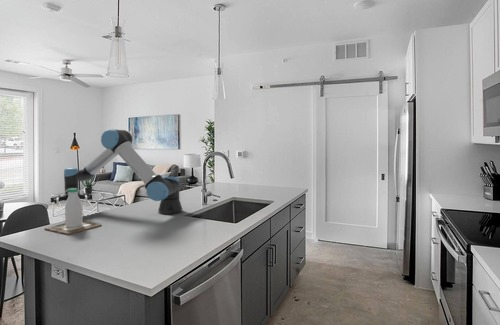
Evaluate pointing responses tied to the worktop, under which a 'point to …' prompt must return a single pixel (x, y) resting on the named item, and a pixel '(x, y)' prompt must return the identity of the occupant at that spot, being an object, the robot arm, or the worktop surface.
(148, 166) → the robot arm
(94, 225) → the writing board
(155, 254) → the worktop surface
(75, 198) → the milk bottle
